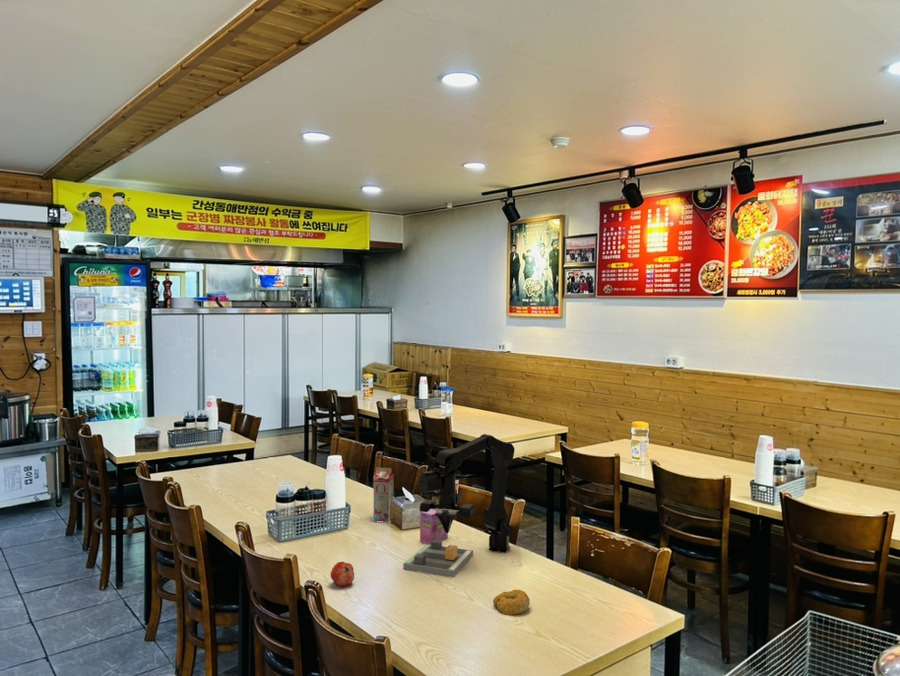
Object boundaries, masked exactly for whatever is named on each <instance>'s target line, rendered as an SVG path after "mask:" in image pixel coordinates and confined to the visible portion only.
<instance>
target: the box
mask: <svg viewBox="0 0 900 676" xmlns="http://www.w3.org/2000/svg"><path fill="white" fill-rule="evenodd" d="M435 513H436V509H430V510H429V511H428V512H421V511H419V515H420V516H419V518H420V519H419V523H420V525H419V543H421V544H424V543H425V544H424V545H426V544H430V545H431V542H432V541H433V540H434V539H435V540H442V541H443V540H446V539H447V538H449V537H448V536H449V535H448V534H449V533H446V532H445V530H444V528H443V526H442V524H441V522H440V520H439V518H438V517H437V516H435Z"/></svg>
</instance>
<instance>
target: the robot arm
mask: <svg viewBox="0 0 900 676" xmlns="http://www.w3.org/2000/svg"><path fill="white" fill-rule="evenodd" d="M485 449H488V450H489V451H491V456H490V457H491V459H492V460H491V461H492V462H493V464H494V467H493V468H494V469H493V479H492V487H491V496H490V498H491V499H490V504H489V506H488V508H484V510H483V517H482V520H483V524H484V525H485V526H486V528H487V531H488V532H489V533H490V535H489V536H488V547H489V548H488V551H490V552H497V553H504V554H505V553H507V552H508V551H509V549H510V548H511V545H510V535H513V531H514V528H513V526H511V525H510V524H509V522H508V513H507V510H506V508H505V499H506V491H507V490H506V489H507V480H508V479H507V478H508V469H509V466H510V465H511V463H512V462H513V460H514V455H515V446H514V445H513V444H512V443H511V442H506V441H502V440H500V439H498V438H496V437H494V436H493V435H491V434H486V433H483V434H481V435H480V436H479V437H476V438H474V439H473V440H470V441H467V442H466V443H463V444H462V445H460V446H458V447H455V448H454V447H453V448H446V449H443V450H440V451H439V452H437V455H436V457H435V459H434V461H433V463H432V465H431V466H430V468H429V471H422V472H421V475H420V476H419V478H418V481H417V485H418V486H417V487H418V489H419V491H420V492H421V493H422V494H426V493H431V492H436V491H438V492H437V496H438V503H437V501H436V500H433V499H425V500H424V501H421V503H420V504H419V512H428V511H429V510H430V509H436V513H435V516H437V517H438V518H439V520H440V522H441V524H442V526H443V528H444V530H445V532H446V533H448V534H449V533H450V531H451V527H452V524H453V522H454V519H455V518H456V517H457V516H458V515H459V516H460V517H462V518H463V517H464V518H471V517H472V516H473V515H475V514H476V507H475V505H474V504H471V503H470V504H469V503H464V504H462V505H461V506H458V504H459V505H460V504H461V502H462V494H461V493H458V491H457V489H456V475H460V474H461V473H462V472H461V471H460V470H459V468H458V467H459V466H461V464H462V463H463V461H464V460H466V459H468V458H470V457H472V456H473V455H476V454H478V453H479V452H481V451H484V450H485Z"/></svg>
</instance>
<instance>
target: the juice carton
mask: <svg viewBox="0 0 900 676" xmlns="http://www.w3.org/2000/svg"><path fill="white" fill-rule="evenodd" d="M394 476H395V475H394V473H393V472H392V467H391V468H389V467H375V473H374V475H373V522H374V521H383V522H389V521H390V505H391V500H392V499H393V500H394V478H395V477H394ZM390 522H391V521H390ZM390 522H389V523H390Z"/></svg>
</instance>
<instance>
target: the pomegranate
mask: <svg viewBox="0 0 900 676" xmlns="http://www.w3.org/2000/svg"><path fill="white" fill-rule="evenodd" d="M330 578H331V579H332V581H333V584H334V585H335V586H339V587H345V586H347V585H350V584H352V583H353V581H354V580H355V572H354V567H353V565H352V564H351V563H349V562H345V561H339V562H337V563H336V564H334V566H333V567H332V569H331V571H330Z"/></svg>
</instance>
